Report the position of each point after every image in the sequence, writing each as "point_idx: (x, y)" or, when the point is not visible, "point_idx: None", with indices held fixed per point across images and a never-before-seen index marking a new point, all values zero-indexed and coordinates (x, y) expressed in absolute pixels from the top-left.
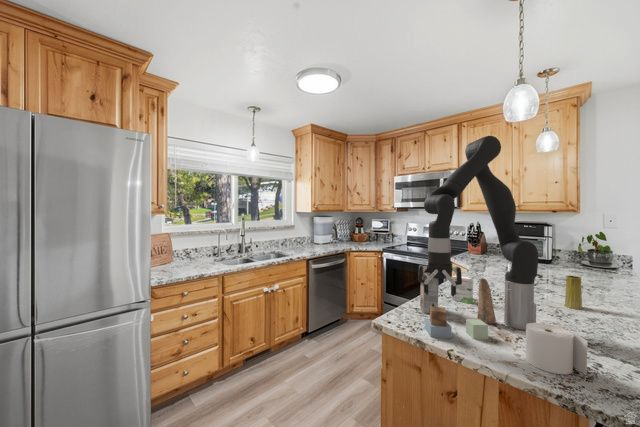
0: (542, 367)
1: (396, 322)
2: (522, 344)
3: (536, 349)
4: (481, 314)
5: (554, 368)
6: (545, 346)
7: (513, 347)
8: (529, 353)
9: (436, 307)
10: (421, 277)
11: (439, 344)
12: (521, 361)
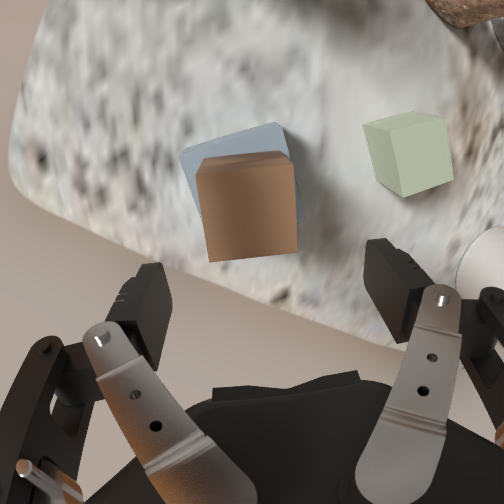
0: None
1: (65, 144)
2: (492, 173)
3: None
4: (450, 2)
5: None
6: None
7: (466, 202)
8: (468, 294)
9: (238, 183)
10: (78, 432)
11: (247, 275)
12: (445, 278)
